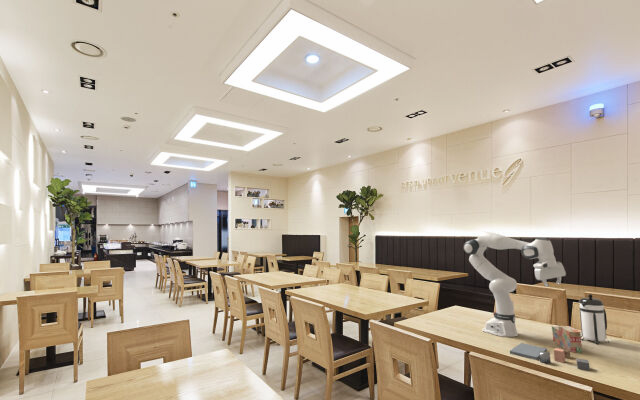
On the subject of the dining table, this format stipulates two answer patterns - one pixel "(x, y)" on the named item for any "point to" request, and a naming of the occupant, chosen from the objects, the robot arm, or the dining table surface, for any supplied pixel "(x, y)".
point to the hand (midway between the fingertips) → (553, 285)
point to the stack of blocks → (567, 338)
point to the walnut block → (566, 353)
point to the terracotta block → (559, 355)
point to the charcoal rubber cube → (583, 364)
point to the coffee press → (593, 319)
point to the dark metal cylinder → (544, 357)
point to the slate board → (527, 351)
